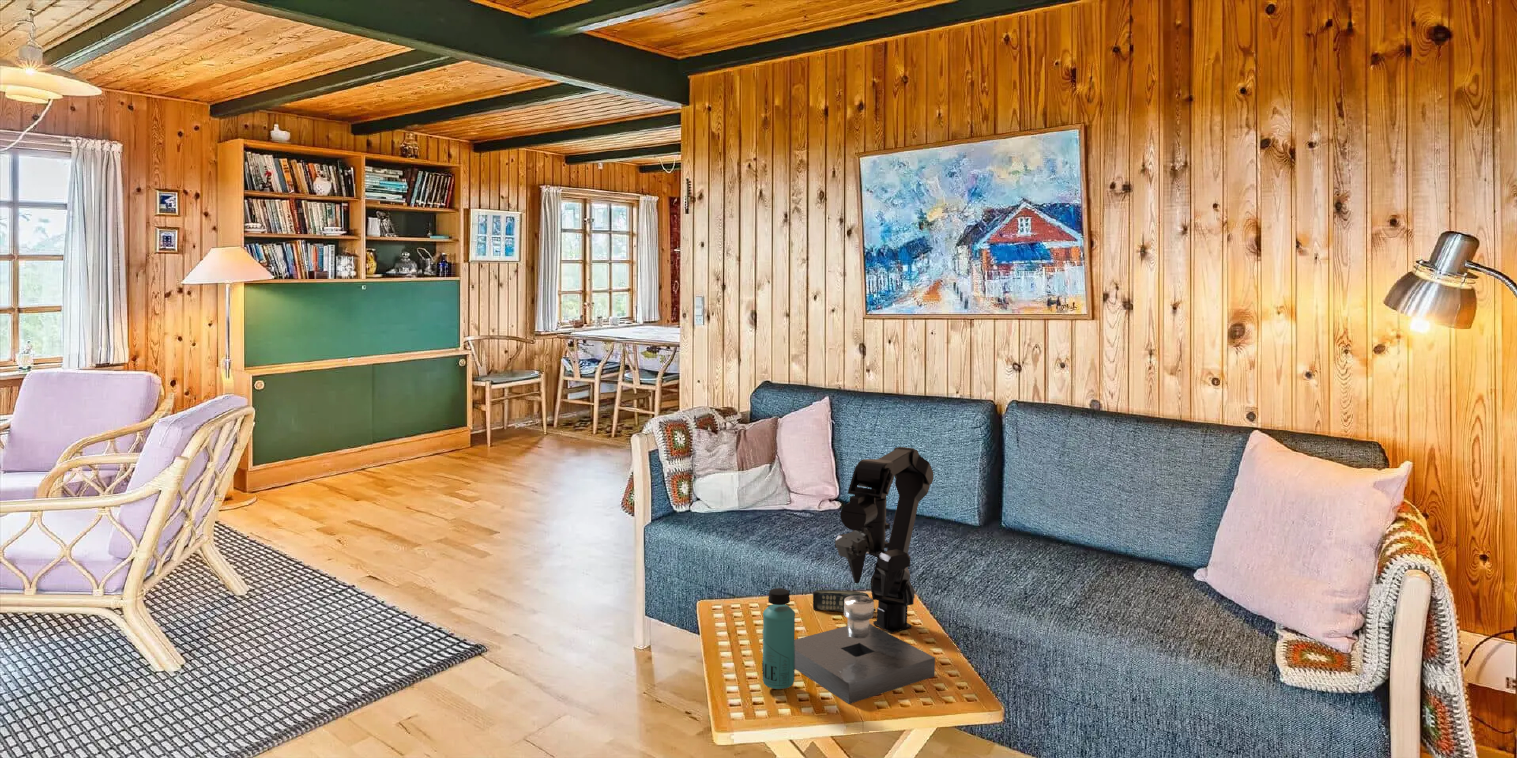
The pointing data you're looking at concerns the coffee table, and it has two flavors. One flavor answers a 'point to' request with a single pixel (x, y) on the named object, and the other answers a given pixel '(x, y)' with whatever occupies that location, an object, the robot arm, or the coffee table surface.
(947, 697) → the coffee table surface
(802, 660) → the bore block
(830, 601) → the mobile phone
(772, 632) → the beverage bottle
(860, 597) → the end cover
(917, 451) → the robot arm
